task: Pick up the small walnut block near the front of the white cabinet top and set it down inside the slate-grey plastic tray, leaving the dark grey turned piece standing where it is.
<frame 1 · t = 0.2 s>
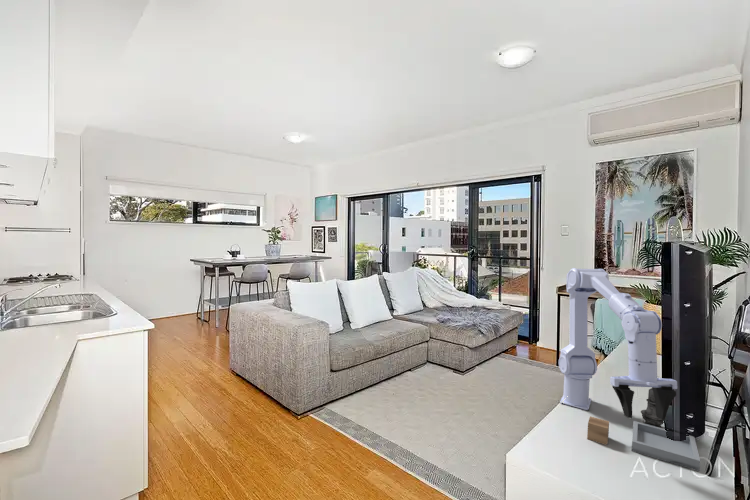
hand: (644, 417, 90), 10 cm above the tv stand, tool pointing down, fingers open, 7 cm apart
block: (597, 438, 99), on the tv stand
dark grey turned piece: (652, 427, 106), on the tv stand
tray: (663, 448, 95), on the tv stand
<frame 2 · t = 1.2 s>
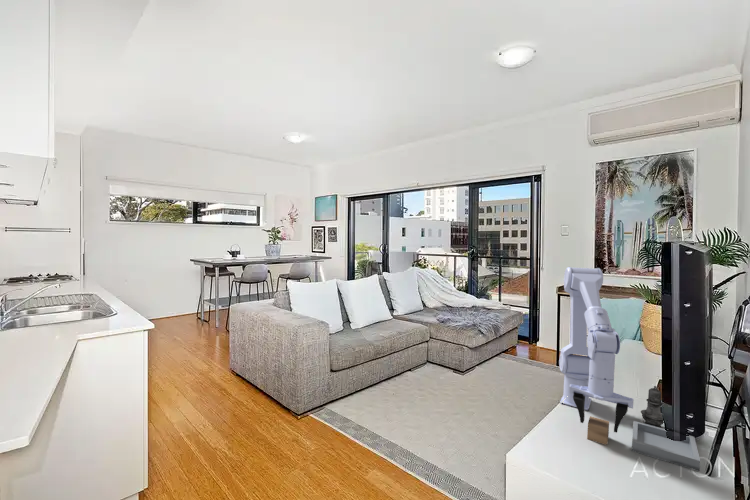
hand: (598, 426, 99), 3 cm above the tv stand, tool pointing down, fingers open, 7 cm apart
nothing on the tv stand moved.
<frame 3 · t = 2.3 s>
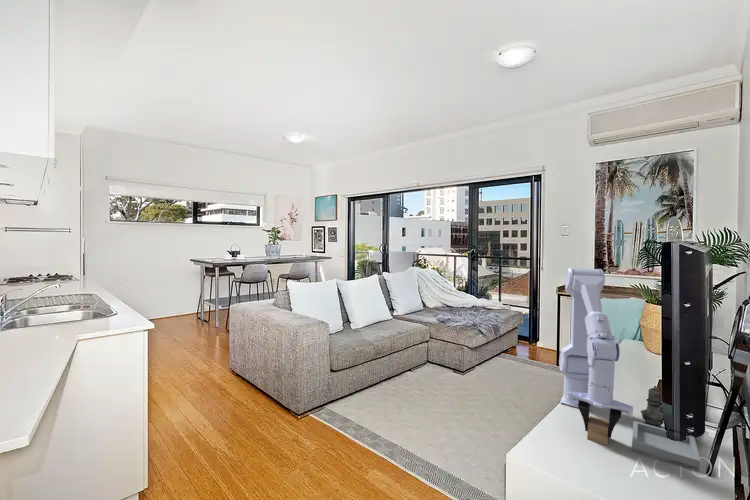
hand: (598, 432, 99), 1 cm above the tv stand, tool pointing down, fingers closed on block, 4 cm apart
block: (597, 438, 99), on the tv stand, touching gripper
everything else where it was.
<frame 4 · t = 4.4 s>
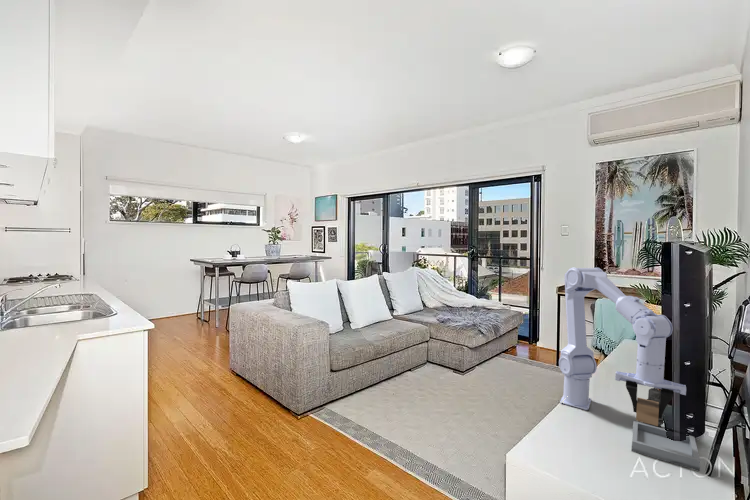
hand: (647, 413, 96), 8 cm above the tv stand, tool pointing down, fingers closed on block, 4 cm apart
block: (646, 419, 96), point 7 cm above the tv stand, touching gripper
everything else where it was.
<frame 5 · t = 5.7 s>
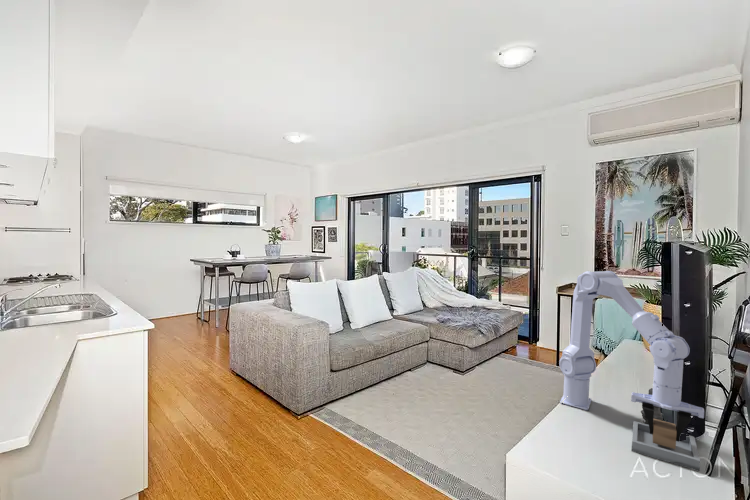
hand: (663, 436, 95), 3 cm above the tv stand, tool pointing down, fingers closed on block, 4 cm apart
block: (663, 441, 95), point 2 cm above the tv stand, touching gripper
everything else where it was.
when the fingers open (3 cm above the tv stand, at t = 6.6 s): block stays where it is, resting on tray.
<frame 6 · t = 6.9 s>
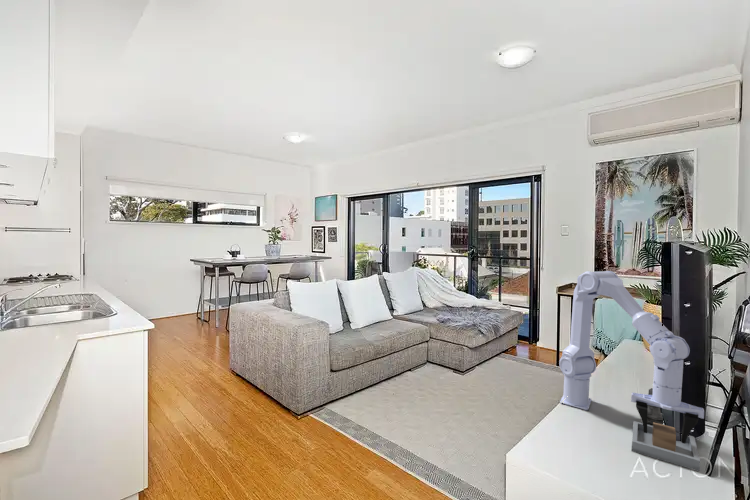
hand: (663, 436, 95), 3 cm above the tv stand, tool pointing down, fingers open, 7 cm apart
block: (663, 445, 95), point 1 cm above the tv stand, touching tray
everything else where it was.
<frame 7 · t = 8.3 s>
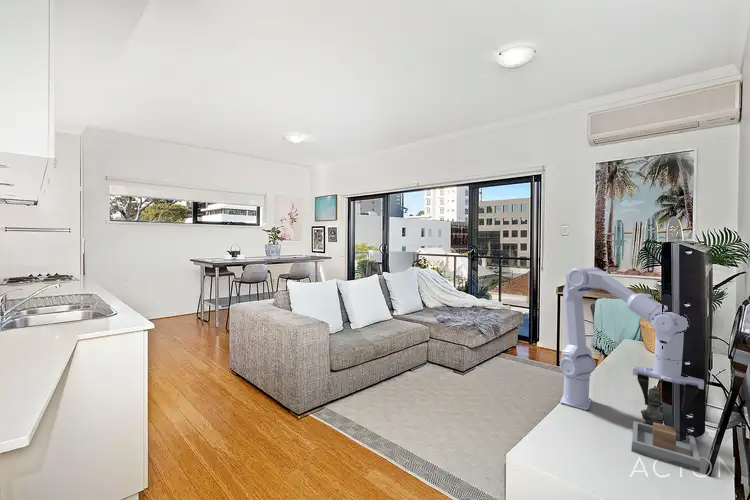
hand: (664, 407, 98), 9 cm above the tv stand, tool pointing down, fingers open, 7 cm apart
nothing on the tv stand moved.
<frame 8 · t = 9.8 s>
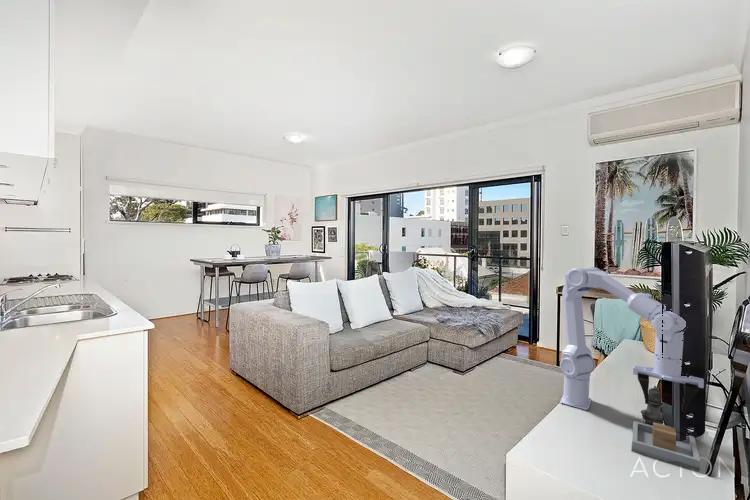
hand: (664, 406, 98), 9 cm above the tv stand, tool pointing down, fingers open, 7 cm apart
nothing on the tv stand moved.
at the end: block inside the target area on the tray (0.1 cm from its centre), point 0.8 cm above the tray's base; block tilted 0°; the gripper is holding nothing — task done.
